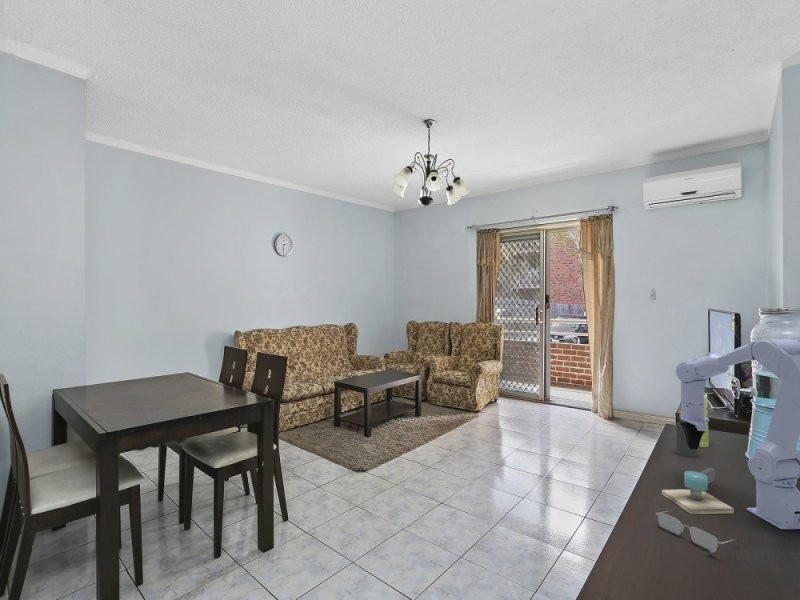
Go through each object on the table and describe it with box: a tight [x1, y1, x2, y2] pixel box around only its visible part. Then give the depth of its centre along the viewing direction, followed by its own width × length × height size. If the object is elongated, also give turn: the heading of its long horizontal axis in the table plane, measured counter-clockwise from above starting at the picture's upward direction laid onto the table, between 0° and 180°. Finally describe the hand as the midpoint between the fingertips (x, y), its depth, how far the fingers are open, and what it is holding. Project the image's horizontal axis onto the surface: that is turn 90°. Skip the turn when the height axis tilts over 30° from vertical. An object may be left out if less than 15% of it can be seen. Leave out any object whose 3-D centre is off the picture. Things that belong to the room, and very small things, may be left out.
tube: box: [698, 392, 710, 448], centre depth 153 cm, size 6×5×20 cm
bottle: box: [675, 409, 698, 458], centre depth 145 cm, size 6×6×15 cm
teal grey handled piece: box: [683, 467, 716, 492], centre depth 112 cm, size 12×5×3 cm, turn 120°
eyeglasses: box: [655, 510, 740, 554], centre depth 95 cm, size 14×8×4 cm, turn 26°
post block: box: [661, 488, 735, 515], centre depth 110 cm, size 11×11×4 cm
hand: (693, 448), depth 124 cm, fingers closed
